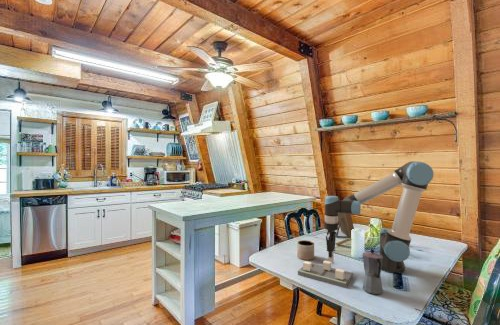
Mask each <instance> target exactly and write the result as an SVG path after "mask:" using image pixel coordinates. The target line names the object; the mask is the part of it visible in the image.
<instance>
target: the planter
mask: <svg viewBox="0 0 500 325" xmlns="http://www.w3.org/2000/svg"><path fill="white" fill-rule="evenodd" d="M296 250H297V258H298V259H300V260H303V261H312V260H313V259H315V243H314V242H313V241H310V240H299V241H297V249H296Z"/></svg>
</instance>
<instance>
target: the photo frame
mask: <svg viewBox="0 0 500 325" xmlns="http://www.w3.org/2000/svg"><path fill="white" fill-rule="evenodd" d="M352 229H354V230H355V227H354V223H353V218H352V214H347V213H338V230H336V238H337V237H339V236H338V235H339V232H341V233H342V234H344V235H345V236H346V237H347V238H349V239H350V240H352V239H351V230H352Z"/></svg>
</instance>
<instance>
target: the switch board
mask: <svg viewBox="0 0 500 325" xmlns="http://www.w3.org/2000/svg"><path fill="white" fill-rule="evenodd" d="M336 269H337V268H333V267H331V270H330V271H328V270H324V269H323V264H322V265H321V264H317V263H313V262H312V270H311V271H306V270H303V266H302V267H301V268H299V270H297V275H298V276H301V277H304V278H305V277H306V278H309V279H311V280H316V281H319V282H324V283H326V284H327V283H328V284H331V285H335V286H338V287H341V288H345V289H346V288H347V287H348V285H349V284H350V282H351V281H352V278H353V276H354V275H353V274H354V273H353V272H350V271H346V270H345V278H344V279H343V280H341V279H337V278H335V270H336Z"/></svg>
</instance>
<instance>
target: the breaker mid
mask: <svg viewBox="0 0 500 325" xmlns="http://www.w3.org/2000/svg"><path fill="white" fill-rule="evenodd" d="M322 266H323V269H324V270H328V271H330V270H331V268H332V263H331V262H329V261H328V260H323V262H322Z"/></svg>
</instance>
